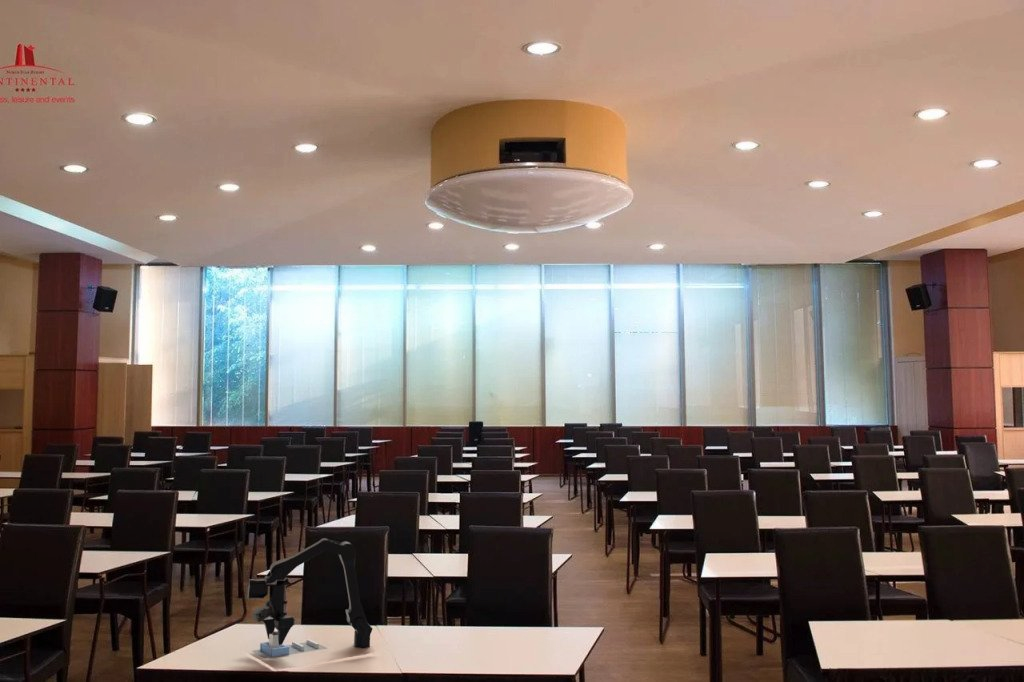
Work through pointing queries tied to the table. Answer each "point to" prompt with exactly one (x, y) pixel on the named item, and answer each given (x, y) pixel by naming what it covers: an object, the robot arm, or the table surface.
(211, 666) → the table surface
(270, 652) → the board
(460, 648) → the table surface
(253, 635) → the table surface
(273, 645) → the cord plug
